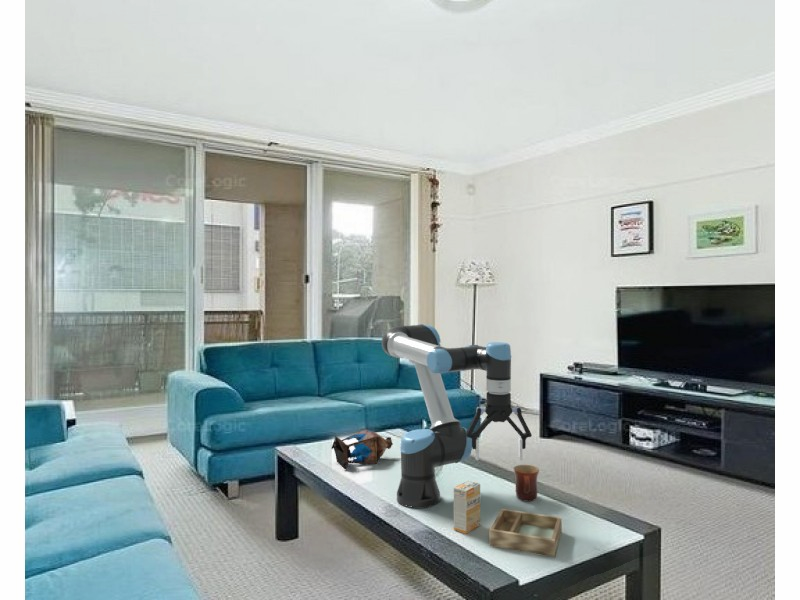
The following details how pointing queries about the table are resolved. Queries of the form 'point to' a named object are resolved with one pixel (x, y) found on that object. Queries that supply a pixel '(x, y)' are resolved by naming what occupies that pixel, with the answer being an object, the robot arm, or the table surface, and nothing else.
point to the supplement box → (466, 506)
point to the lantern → (361, 448)
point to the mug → (526, 482)
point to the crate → (526, 532)
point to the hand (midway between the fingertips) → (498, 459)
